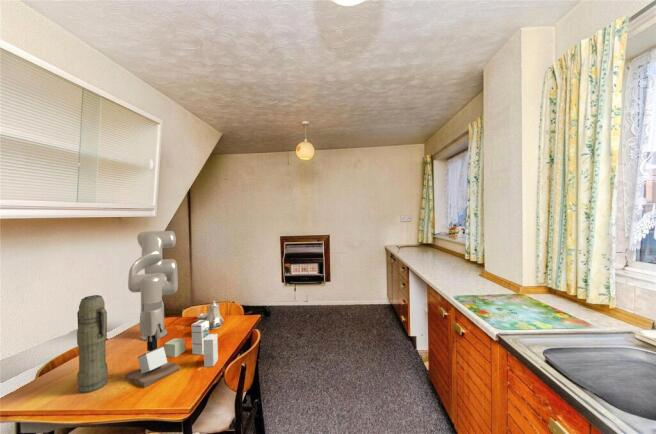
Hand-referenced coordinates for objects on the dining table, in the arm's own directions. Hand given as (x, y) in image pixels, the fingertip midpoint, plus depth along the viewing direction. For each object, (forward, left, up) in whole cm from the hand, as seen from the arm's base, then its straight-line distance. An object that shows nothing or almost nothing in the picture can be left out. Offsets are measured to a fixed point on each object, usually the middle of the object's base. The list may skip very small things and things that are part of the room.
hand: (152, 349), depth 115 cm
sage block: (-9, +15, -10) cm, 20 cm away
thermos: (-12, -16, -10) cm, 22 cm away
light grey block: (-1, 0, -1) cm, 2 cm away
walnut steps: (0, 0, -10) cm, 10 cm away
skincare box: (+15, +17, -10) cm, 25 cm away
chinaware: (-23, +44, -11) cm, 51 cm away
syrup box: (+1, +22, -10) cm, 24 cm away
